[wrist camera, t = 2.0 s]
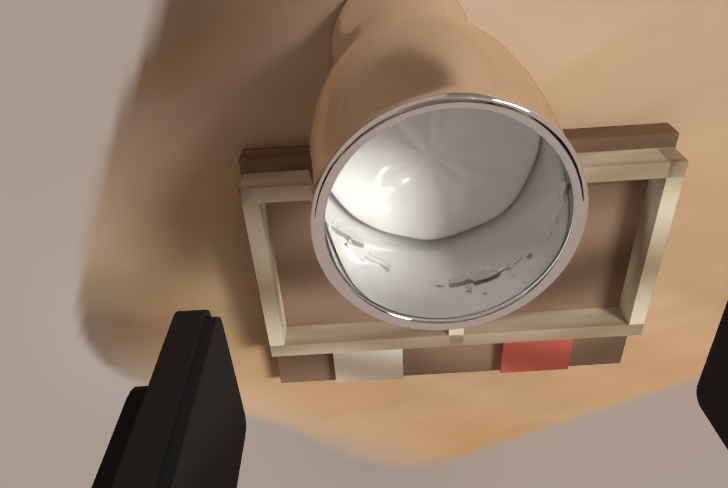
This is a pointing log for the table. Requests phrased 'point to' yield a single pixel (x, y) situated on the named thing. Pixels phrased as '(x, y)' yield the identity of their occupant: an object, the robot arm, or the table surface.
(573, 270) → the divided sorting tray
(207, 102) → the table surface
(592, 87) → the table surface
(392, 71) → the silver piece
